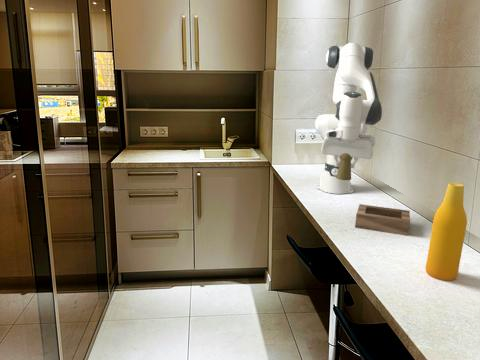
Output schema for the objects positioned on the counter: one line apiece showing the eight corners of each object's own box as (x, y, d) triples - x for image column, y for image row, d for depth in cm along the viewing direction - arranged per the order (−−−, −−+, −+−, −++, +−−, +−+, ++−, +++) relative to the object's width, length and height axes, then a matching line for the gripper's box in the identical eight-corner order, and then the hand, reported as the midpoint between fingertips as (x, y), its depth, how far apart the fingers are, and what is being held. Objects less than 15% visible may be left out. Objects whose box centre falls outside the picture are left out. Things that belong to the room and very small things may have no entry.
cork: (341, 175, 186) (344, 150, 183) (354, 178, 182) (357, 152, 179) (333, 177, 182) (336, 151, 179) (345, 181, 178) (348, 154, 175)
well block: (358, 216, 190) (359, 204, 188) (407, 223, 183) (409, 210, 182) (354, 227, 176) (356, 214, 174) (408, 235, 170) (410, 222, 168)
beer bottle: (454, 284, 132) (471, 190, 125) (422, 275, 137) (436, 184, 129) (459, 273, 139) (475, 184, 132) (428, 265, 144) (442, 178, 137)
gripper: (375, 134, 177) (371, 168, 180) (324, 130, 183) (321, 162, 186) (375, 137, 171) (370, 171, 174) (322, 132, 177) (319, 165, 181)
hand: (345, 167), depth 180 cm, fingers closed on cork, 4 cm apart
